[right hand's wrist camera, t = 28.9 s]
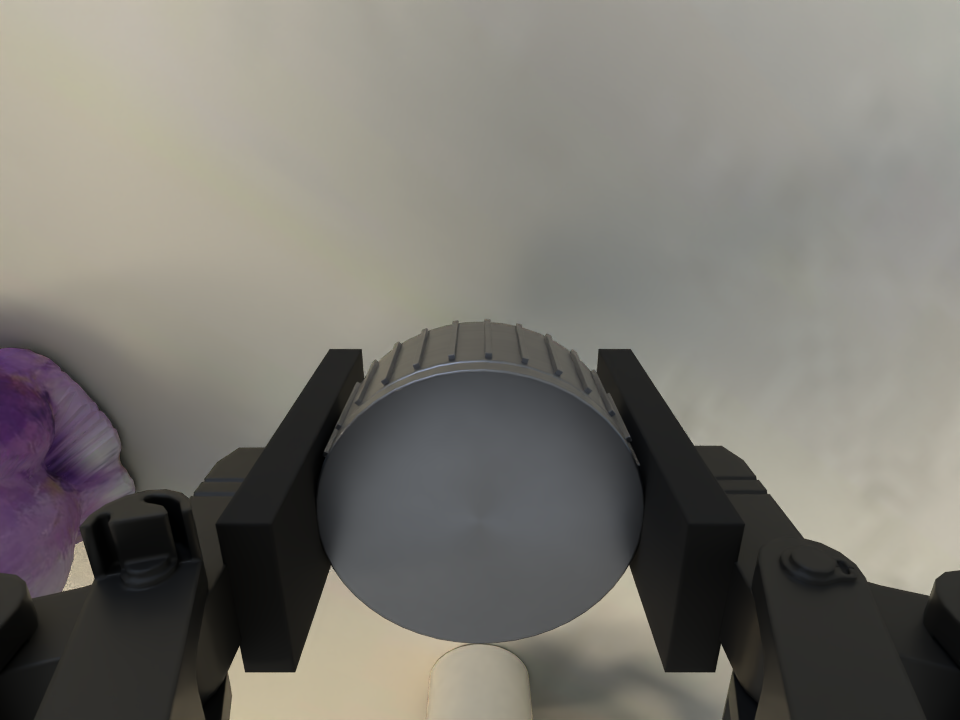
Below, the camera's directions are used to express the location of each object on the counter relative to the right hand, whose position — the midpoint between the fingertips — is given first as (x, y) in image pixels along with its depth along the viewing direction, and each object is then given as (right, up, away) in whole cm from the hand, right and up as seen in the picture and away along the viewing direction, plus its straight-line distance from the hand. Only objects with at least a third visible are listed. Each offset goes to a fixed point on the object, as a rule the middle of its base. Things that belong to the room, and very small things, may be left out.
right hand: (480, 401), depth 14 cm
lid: (0, -2, -4) cm, 4 cm away
